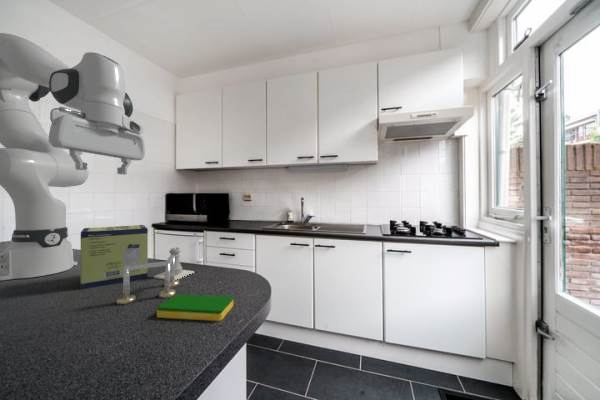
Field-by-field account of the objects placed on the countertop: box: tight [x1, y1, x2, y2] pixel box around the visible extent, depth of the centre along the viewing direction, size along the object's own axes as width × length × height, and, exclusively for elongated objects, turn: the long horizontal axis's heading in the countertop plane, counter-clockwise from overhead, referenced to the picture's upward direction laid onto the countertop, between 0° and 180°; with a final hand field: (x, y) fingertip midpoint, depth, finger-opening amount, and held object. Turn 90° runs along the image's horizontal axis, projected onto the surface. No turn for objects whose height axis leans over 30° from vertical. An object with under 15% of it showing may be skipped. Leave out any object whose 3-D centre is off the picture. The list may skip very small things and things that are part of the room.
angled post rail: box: [116, 254, 180, 306], centre depth 60 cm, size 10×16×8 cm, turn 161°
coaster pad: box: [153, 269, 195, 280], centre depth 74 cm, size 8×8×1 cm
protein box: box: [80, 224, 149, 290], centre depth 71 cm, size 10×16×16 cm
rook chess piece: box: [169, 246, 183, 275], centre depth 74 cm, size 4×4×8 cm
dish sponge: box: [156, 293, 234, 322], centre depth 51 cm, size 7×14×2 cm, turn 85°
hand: (103, 172), depth 61 cm, fingers open, 8 cm apart
